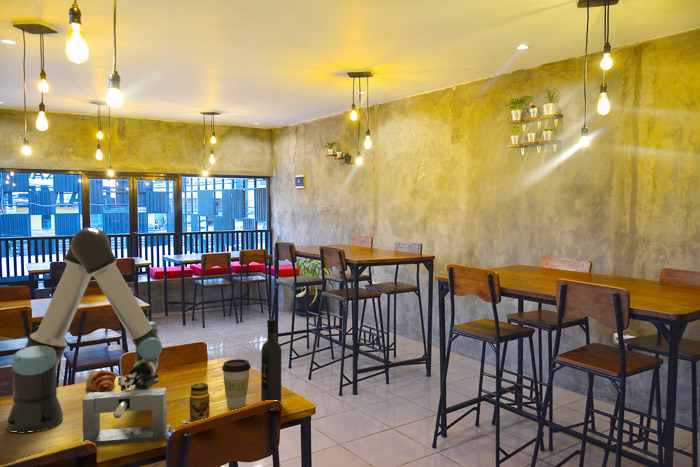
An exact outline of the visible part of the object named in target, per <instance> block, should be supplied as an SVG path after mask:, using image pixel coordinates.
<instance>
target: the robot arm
mask: <svg viewBox="0 0 700 467" xmlns="http://www.w3.org/2000/svg"><path fill="white" fill-rule="evenodd" d="M110 243H111V242H110V238H109V236H108V234H107V233H106V232H105V231H104V230H102V229H100V228H98V227H95V226H93V227H92V226H90V227H88V226H87V227H84V228H81V229H80V230H78V231H77V232H76V233H75V234H74V235H73V237H72V239H71V241H70V245H69V248H68V250H67V252H66V254H65V257H63V258H64V259H63V260H64V262H65V264H66V265H65V268H64V271H63V273H62V274H61V277H60V279H59V282H58V285H56V289H55V291H54V293H53V294H52V298H51V300H50V302H49V304H48V306H47V309H46V311H45V313H44V315H43V318H42V319H41V322H40V324H39V327H38V329H37V330H36V331H35V332H32V333H31V334H30V335H29V337H28V339H27V342H26V344H25V346H24V348H23V349H20V350H18V351H16V352H15V353H13V357H12V362H11V368H12V397H13V398H12V404H11V409H10V411H9V414H8V417H7V420H6V430H7V429H8V430H10V431H17V432H28V431H37V430H42V429H45V430H47V429H46V428H49V427H51V428H53V427H52V426H54V427H56V426H57V425H56V424H58V423H59V424H60V423H62V422H61V421H63V419H64V412H63V409H62V407H61V404H60V402H59V399H58V397H57V370H58V366H59V364H60V361H61V359H62V357H63V354H64V352H65V350H66V347H67V345H68V343H67V341H66V336H67V333H68V332H69V328H70V327H71V323H72V322H73V320H74V317H75V315H76V314H77V311H78V309H79V306H80V303H81V301H82V299H83V296H84V294H85V292H86V289H87V288H88V285H89V283H90V280H91V278H92V277H93V278H94V280H95V281H96V283H97V284H98V287H99V288H100V289H101V291H102V293H103V295H104V296H105V298H106V300H107V301H108V302H109V305H110V306H111V308H112V310H113V311H114V313H115V314H116V316H117V318H118V319H119V321H120V323H121V324H122V326H123V328H124V329H125V331H126V333H127V334H128V336H129V338H130V339H131V341H132V343H133V344H134V347H135V363H134V365H133V366H132V368H131V370H130V371H129V374H128V375H126V376H125V377H124V376H118V377H117V379H118V380H117V384H118V386H120V391H123V390H124V389H126V388H132V389H134V390H147V389H151V387H152V386H154V385H155V384H158V383H159V374H155V373H156V370H157V369H158V367H159V362H160V358H159V356H160V355H161V353H162V350H163V344H162V342H161V340H160V338H159V336H158V324H157V323H156V322H155V321H149V320H148V318H147V316H146V315H145V313H144V311H143V309H142V307H141V306H140V304H139V302H138V301H137V299H136V297H135V295H134V294H133V292H132V290H131V288H130V286H129V285H128V283H127V282H126V280H125V279H124V276H123V274H122V273H121V272H120V270H119V268H118V266H117V261H118V260H117V258H116V257H115V254H114V253H113V251H112V248H111V244H110ZM154 374H155V375H154ZM126 383H127V385H126ZM59 424H58V425H59ZM55 425H56V426H55ZM49 429H50V428H49ZM8 430H7V431H8ZM42 431H43V430H42ZM37 432H38V431H37Z"/></svg>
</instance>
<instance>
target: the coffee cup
mask: <svg viewBox="0 0 700 467" xmlns="http://www.w3.org/2000/svg"><path fill="white" fill-rule="evenodd" d="M250 369H251V364H250V362H249V360H246V359H241V358H239V359H238V358H236V359H229V360H226V361H224V363H223V365H222V367H221V370H222V372H223V384H224V392H225V398H226V406H227V407H228V409H240V408H239V407H241V408H244V407H245V406H246V401H247V395H248V388H249V381H250V380H249V379H250ZM243 406H244V407H243Z"/></svg>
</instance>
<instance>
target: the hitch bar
mask: <svg viewBox="0 0 700 467" xmlns="http://www.w3.org/2000/svg"><path fill="white" fill-rule="evenodd" d="M122 399H130V403H129V404H128V406H127V407H126V409H125V411H124V412H131V411H133V412H136V411H148V410H152V425H148V426H136V427H123V428H110V429H108V428H107V429H101V425H100V424H101V419H100V418H101V415H100V414H103V413H104V414H105V413H114V412H115V410H116V409H117V407H118V406H119V404H120V402H121V401H122ZM170 431H171V424H167V387H159V388H157V387H156V388H149V389H147V390H131V391H121V390H118V391H117V390H116V391H115V390H114V391H105V392H100V391H95V392H93V391H92V392H91V391H90V392H87V394H86V395H85V396H84V398H83V399H82V437H81V438H80V439H79V441H85V440H89V441H91V442H93V443H95V444H96V445H95V446H103V445H104V446H105V444H107V445H117V444H129V443H142V442H152V441H154V442H155V441H166V437H167V433H168V432H169V433H170ZM167 438H168V437H167Z"/></svg>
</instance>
